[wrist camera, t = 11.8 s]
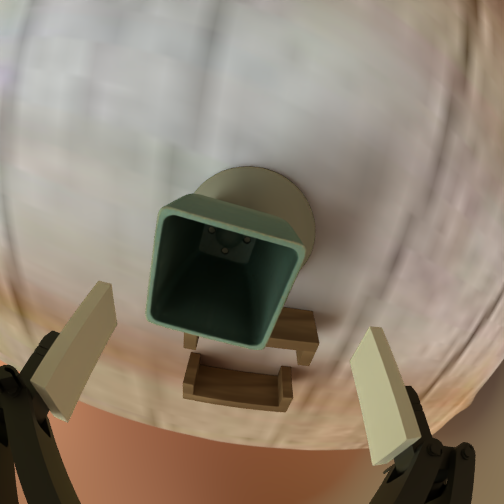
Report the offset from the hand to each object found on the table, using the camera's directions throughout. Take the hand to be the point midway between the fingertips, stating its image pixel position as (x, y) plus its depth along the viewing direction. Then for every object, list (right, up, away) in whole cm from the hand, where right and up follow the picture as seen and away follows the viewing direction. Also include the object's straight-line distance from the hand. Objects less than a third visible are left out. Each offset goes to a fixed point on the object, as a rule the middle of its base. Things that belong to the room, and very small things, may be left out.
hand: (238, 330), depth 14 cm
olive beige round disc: (0, +6, +13) cm, 14 cm away
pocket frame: (0, -7, +19) cm, 20 cm away
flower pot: (-1, +6, +12) cm, 13 cm away
